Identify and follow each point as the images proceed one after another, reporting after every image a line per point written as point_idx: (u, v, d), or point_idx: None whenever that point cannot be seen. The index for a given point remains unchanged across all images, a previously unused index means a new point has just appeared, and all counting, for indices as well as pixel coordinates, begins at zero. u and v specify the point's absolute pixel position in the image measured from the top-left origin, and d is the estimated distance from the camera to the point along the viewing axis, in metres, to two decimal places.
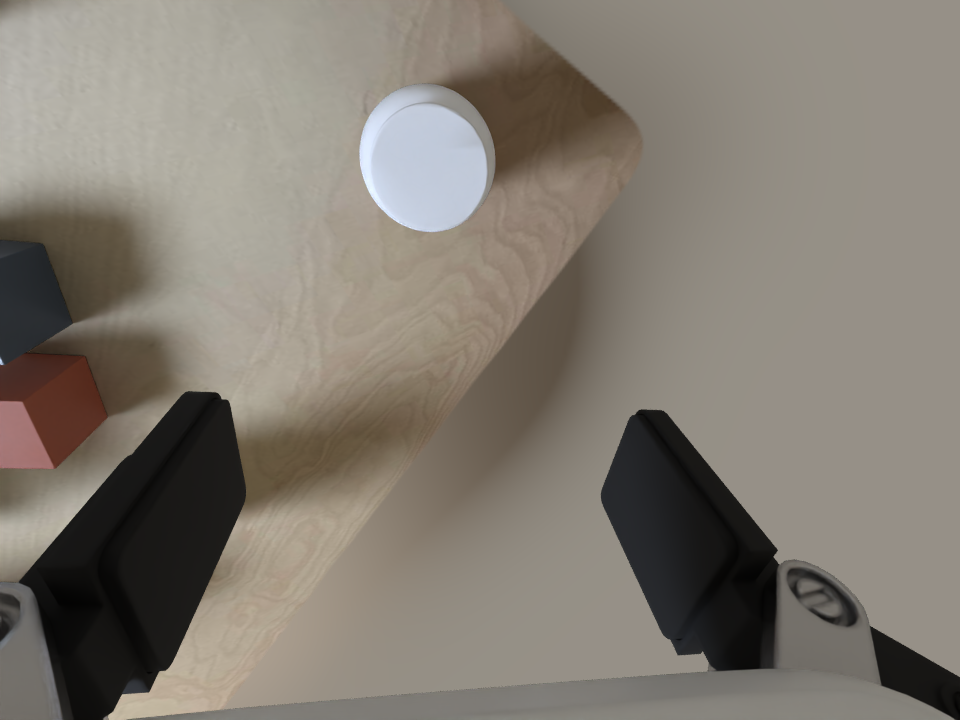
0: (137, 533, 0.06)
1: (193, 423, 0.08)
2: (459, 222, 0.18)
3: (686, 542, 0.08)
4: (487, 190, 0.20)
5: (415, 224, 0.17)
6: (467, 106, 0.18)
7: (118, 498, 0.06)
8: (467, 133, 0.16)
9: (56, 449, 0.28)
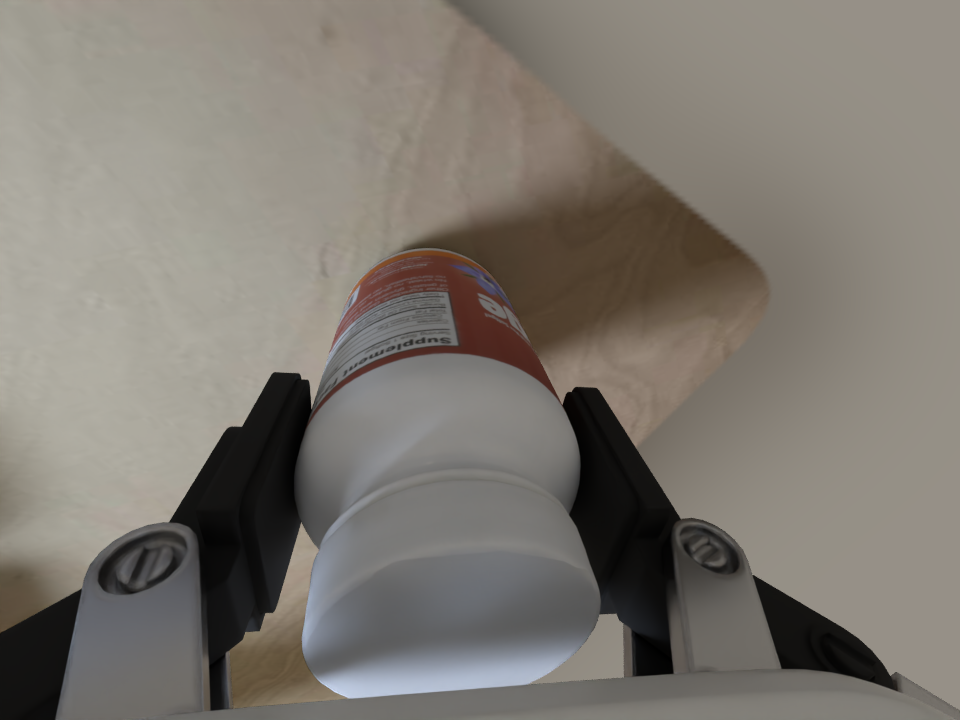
0: (263, 487, 0.07)
1: (287, 399, 0.09)
2: None
3: (601, 506, 0.08)
4: None
5: None
6: (533, 414, 0.08)
7: (244, 457, 0.07)
8: (558, 578, 0.06)
9: None
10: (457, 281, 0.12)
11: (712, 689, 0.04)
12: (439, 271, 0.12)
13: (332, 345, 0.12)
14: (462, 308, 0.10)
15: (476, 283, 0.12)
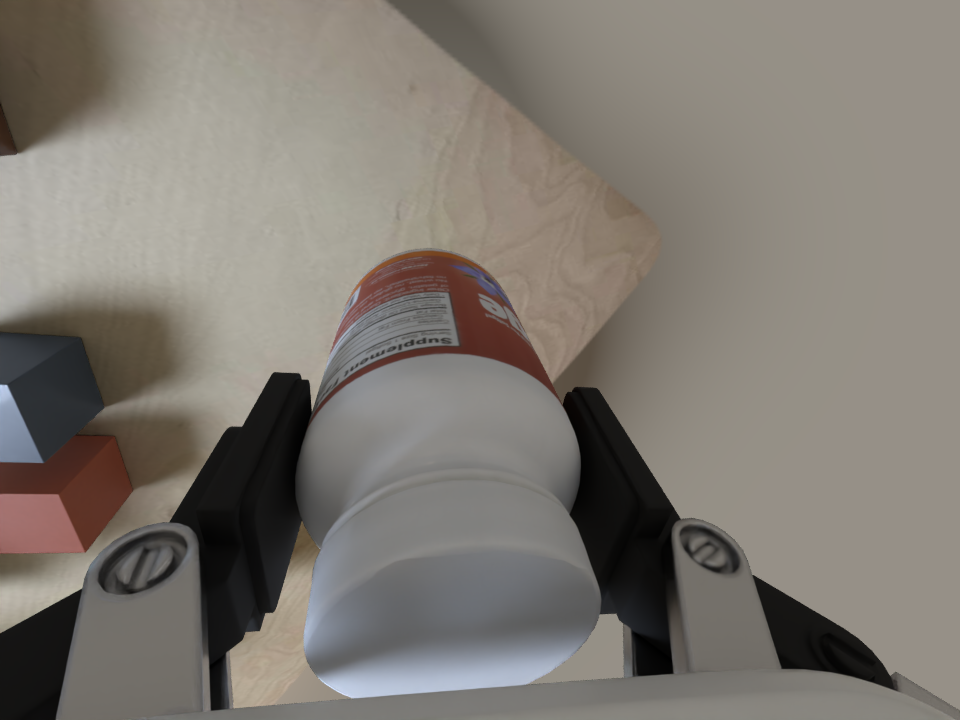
0: (263, 487, 0.07)
1: (287, 399, 0.09)
2: None
3: (601, 506, 0.08)
4: None
5: None
6: (534, 415, 0.08)
7: (244, 457, 0.07)
8: (559, 578, 0.06)
9: (87, 533, 0.28)
10: (457, 281, 0.12)
11: (713, 689, 0.04)
12: (439, 271, 0.12)
13: (333, 345, 0.12)
14: (462, 308, 0.10)
15: (477, 283, 0.12)
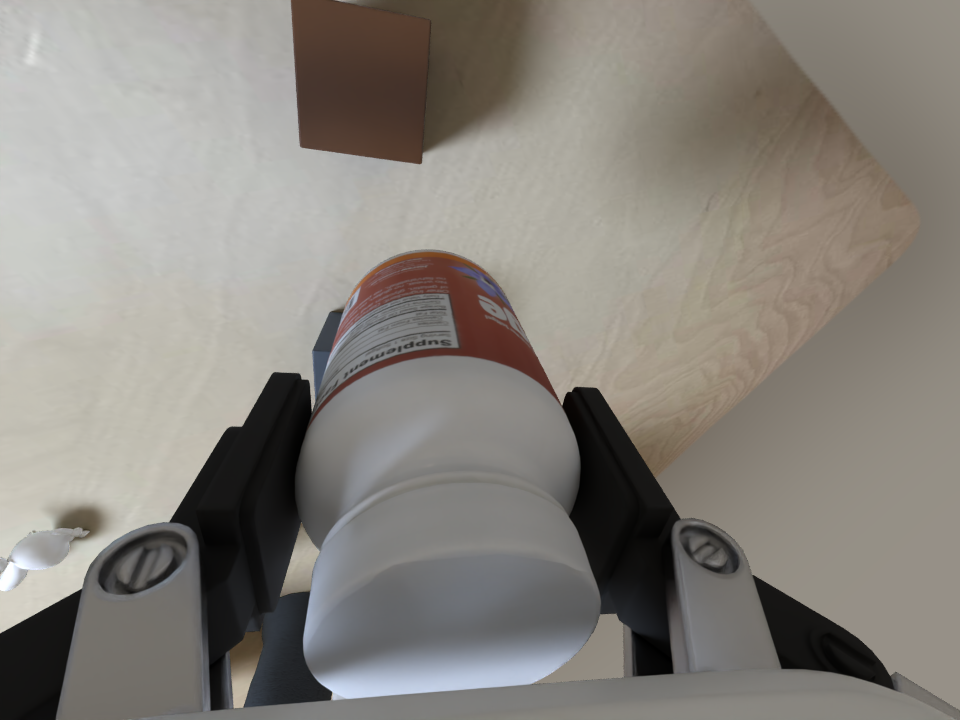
0: (263, 487, 0.07)
1: (287, 399, 0.09)
2: None
3: (601, 506, 0.08)
4: None
5: None
6: (534, 416, 0.08)
7: (244, 457, 0.07)
8: (558, 580, 0.06)
9: None
10: (457, 282, 0.12)
11: (712, 689, 0.04)
12: (439, 272, 0.12)
13: (332, 347, 0.12)
14: (462, 310, 0.10)
15: (476, 285, 0.12)
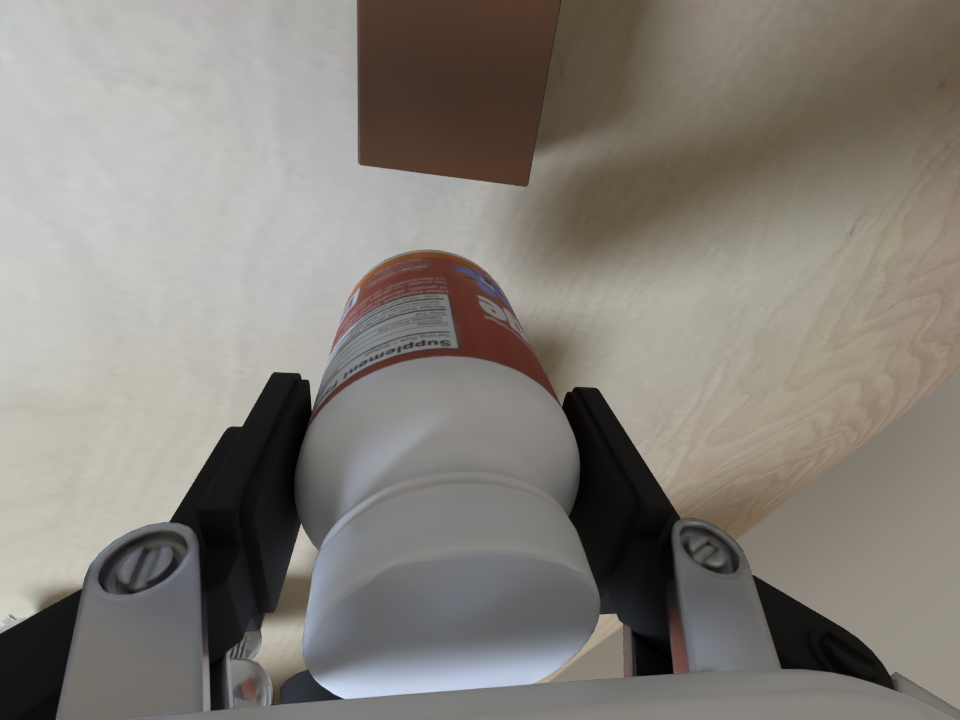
0: (263, 487, 0.07)
1: (287, 399, 0.09)
2: None
3: (601, 506, 0.08)
4: None
5: None
6: (533, 417, 0.08)
7: (244, 457, 0.07)
8: (558, 581, 0.06)
9: None
10: (457, 283, 0.12)
11: (712, 689, 0.04)
12: (438, 273, 0.12)
13: (332, 347, 0.12)
14: (462, 310, 0.10)
15: (476, 285, 0.12)
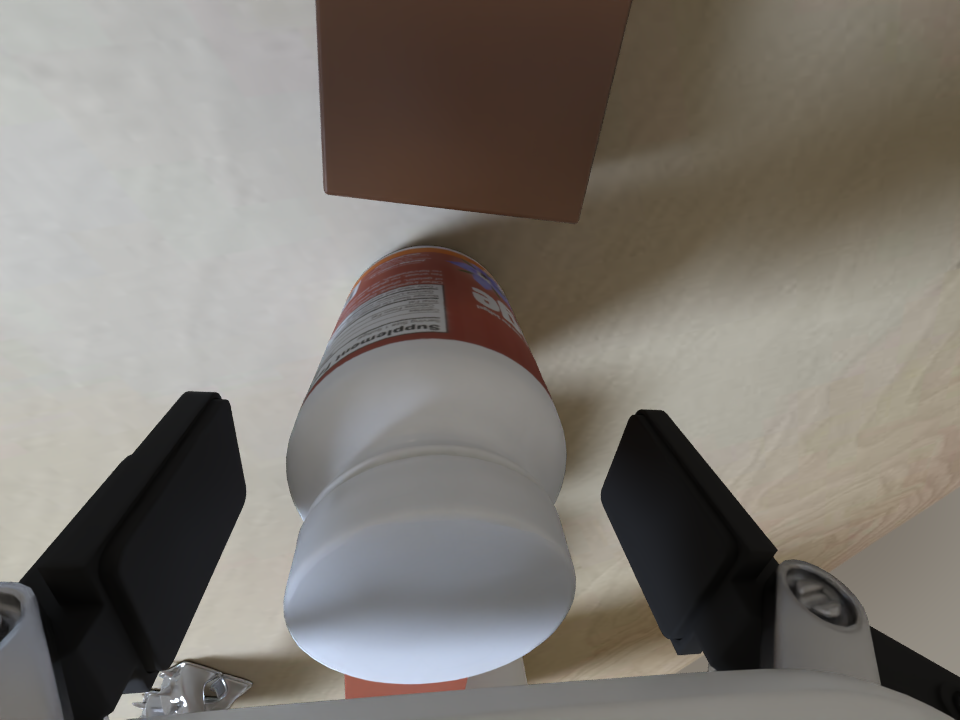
0: (137, 533, 0.06)
1: (193, 423, 0.08)
2: (501, 665, 0.08)
3: (686, 542, 0.08)
4: None
5: (401, 680, 0.08)
6: (516, 398, 0.08)
7: (119, 498, 0.06)
8: (531, 551, 0.06)
9: None
10: (452, 275, 0.12)
11: (712, 689, 0.04)
12: (435, 266, 0.12)
13: (331, 336, 0.12)
14: (454, 299, 0.10)
15: (472, 278, 0.12)
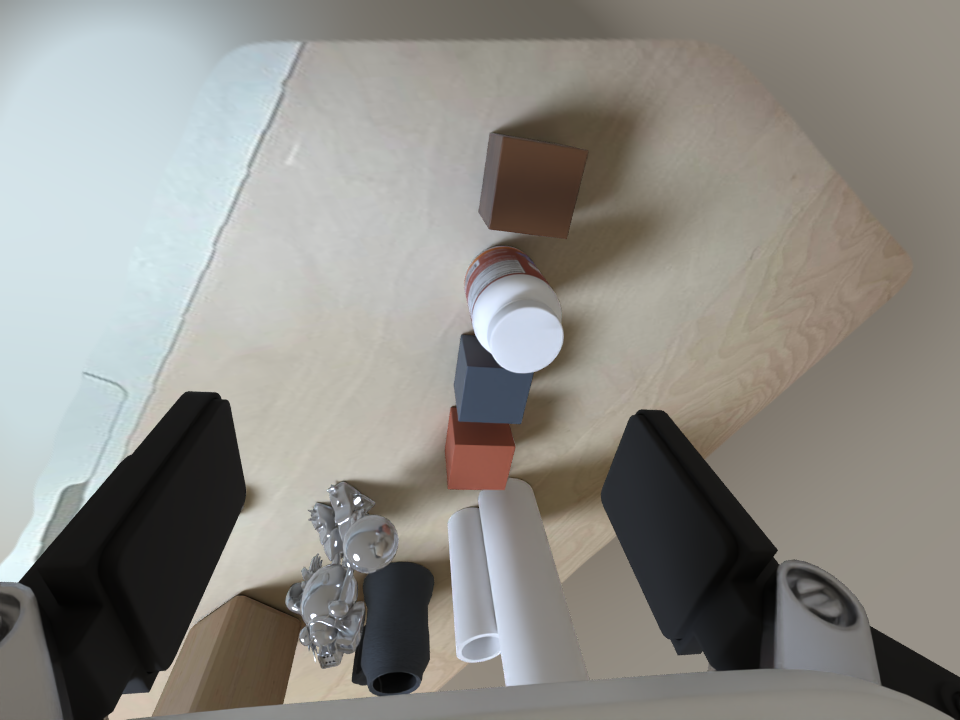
0: (137, 533, 0.06)
1: (193, 423, 0.08)
2: (541, 368, 0.27)
3: (686, 542, 0.08)
4: None
5: (514, 370, 0.27)
6: (547, 291, 0.27)
7: (118, 498, 0.06)
8: (553, 321, 0.26)
9: None
10: (519, 257, 0.31)
11: (712, 689, 0.04)
12: (512, 254, 0.32)
13: (472, 279, 0.31)
14: (523, 265, 0.30)
15: (526, 259, 0.32)
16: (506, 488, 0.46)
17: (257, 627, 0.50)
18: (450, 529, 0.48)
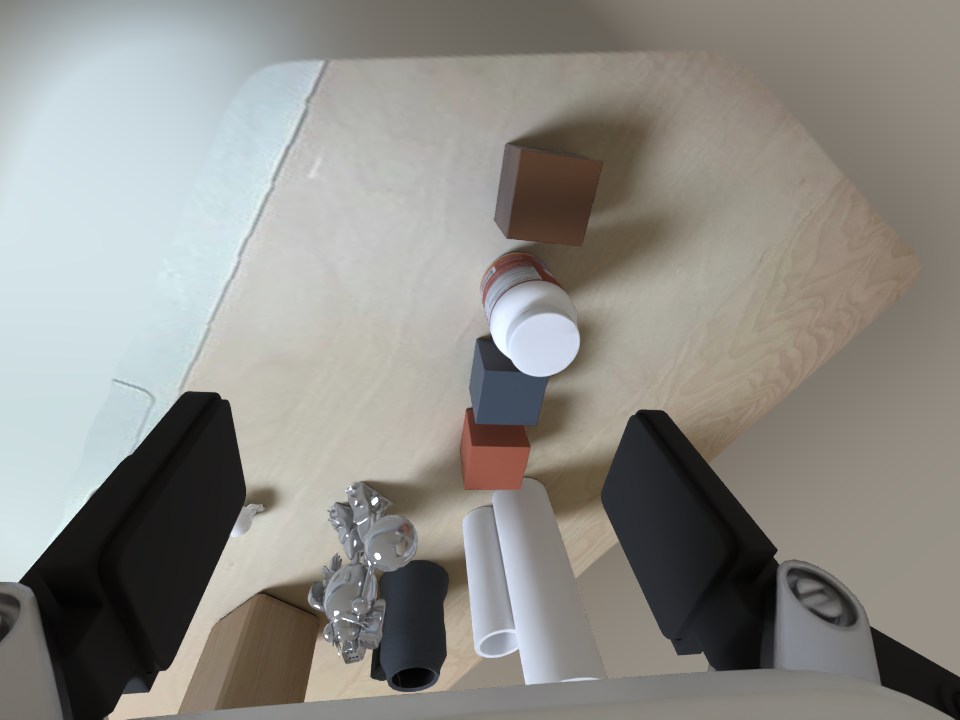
0: (137, 533, 0.06)
1: (193, 423, 0.08)
2: (558, 371, 0.28)
3: (686, 542, 0.08)
4: None
5: (531, 373, 0.28)
6: (564, 297, 0.28)
7: (118, 498, 0.06)
8: (570, 326, 0.26)
9: None
10: (535, 263, 0.32)
11: (712, 689, 0.04)
12: (527, 260, 0.32)
13: (489, 285, 0.32)
14: (539, 271, 0.30)
15: (541, 265, 0.33)
16: (520, 488, 0.47)
17: (278, 625, 0.52)
18: (465, 528, 0.49)
